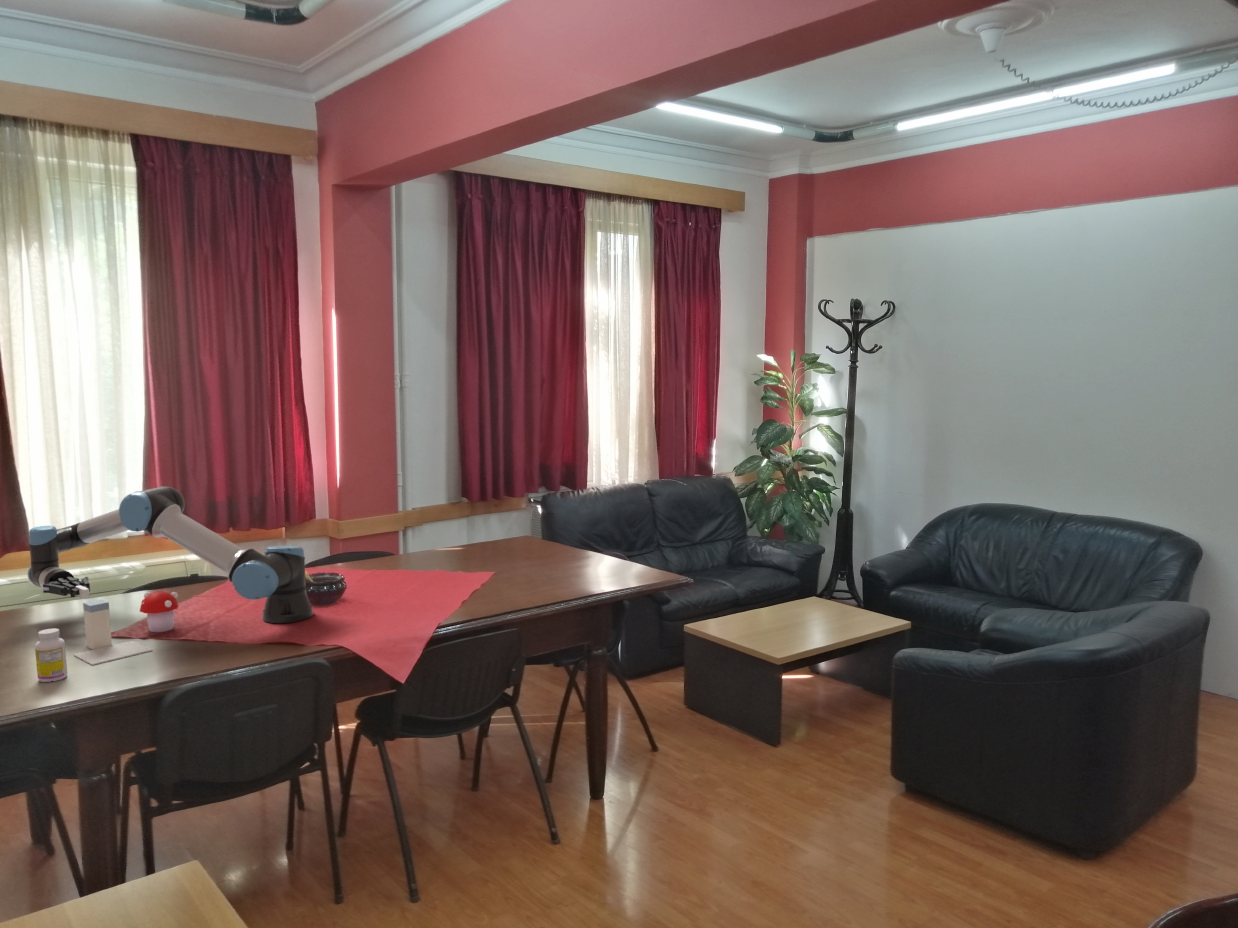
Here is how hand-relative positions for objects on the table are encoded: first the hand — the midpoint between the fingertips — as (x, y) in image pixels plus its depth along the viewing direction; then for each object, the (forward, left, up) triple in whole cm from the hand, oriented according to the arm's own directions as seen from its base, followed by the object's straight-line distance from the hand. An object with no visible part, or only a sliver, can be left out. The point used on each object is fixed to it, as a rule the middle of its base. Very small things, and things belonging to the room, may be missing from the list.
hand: (86, 593), depth 273 cm
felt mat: (-18, +6, -14) cm, 23 cm away
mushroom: (-10, -16, -14) cm, 24 cm away
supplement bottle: (-22, +26, -14) cm, 37 cm away
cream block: (-8, +3, -14) cm, 16 cm away
